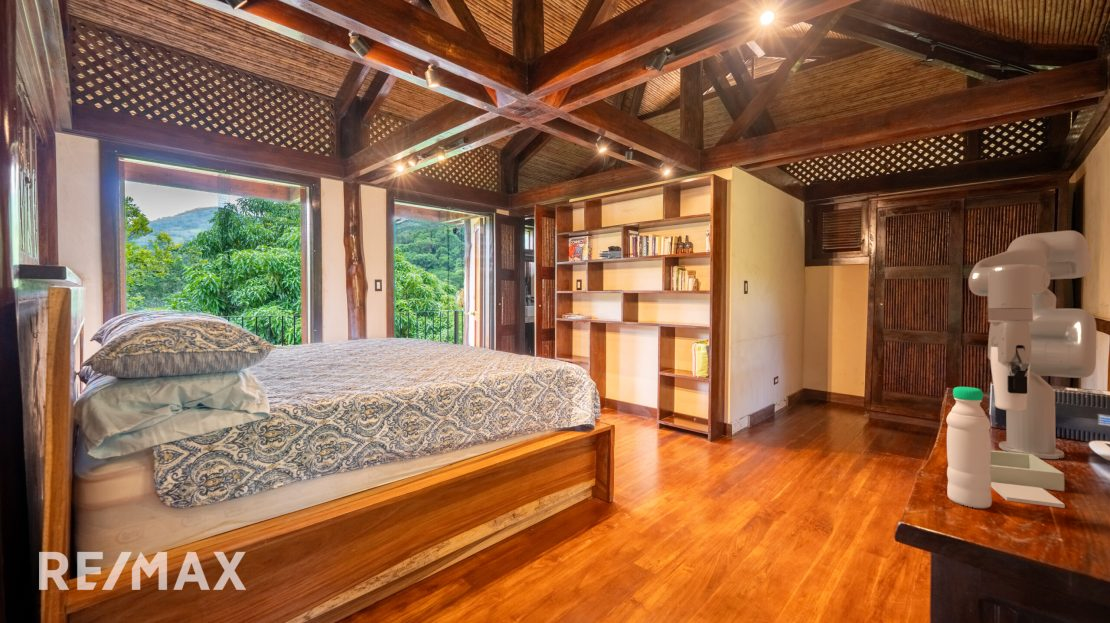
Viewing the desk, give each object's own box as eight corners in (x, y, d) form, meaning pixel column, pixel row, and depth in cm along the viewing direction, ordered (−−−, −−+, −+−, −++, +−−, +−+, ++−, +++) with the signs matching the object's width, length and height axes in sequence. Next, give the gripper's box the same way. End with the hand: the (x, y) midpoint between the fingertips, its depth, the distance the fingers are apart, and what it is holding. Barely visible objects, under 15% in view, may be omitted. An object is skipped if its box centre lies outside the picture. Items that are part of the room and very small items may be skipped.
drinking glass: (1039, 413, 103) (1038, 348, 103) (1004, 412, 104) (1004, 348, 104) (1016, 406, 110) (1015, 346, 109) (983, 405, 111) (983, 345, 111)
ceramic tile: (988, 485, 105) (988, 481, 105) (1041, 491, 101) (1041, 487, 101) (1006, 500, 97) (1006, 497, 97) (1064, 508, 93) (1064, 504, 93)
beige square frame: (960, 462, 119) (960, 447, 119) (1032, 469, 113) (1032, 454, 113) (982, 481, 107) (982, 465, 107) (1064, 491, 101) (1064, 473, 101)
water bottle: (980, 512, 92) (979, 392, 92) (940, 499, 98) (938, 387, 98) (998, 505, 95) (997, 389, 94) (957, 492, 101) (956, 383, 101)
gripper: (975, 315, 116) (975, 384, 116) (1005, 317, 101) (1005, 396, 101) (1014, 315, 113) (1014, 385, 113) (1051, 316, 97) (1051, 398, 97)
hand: (1010, 389), depth 107 cm, fingers closed on drinking glass, 6 cm apart
